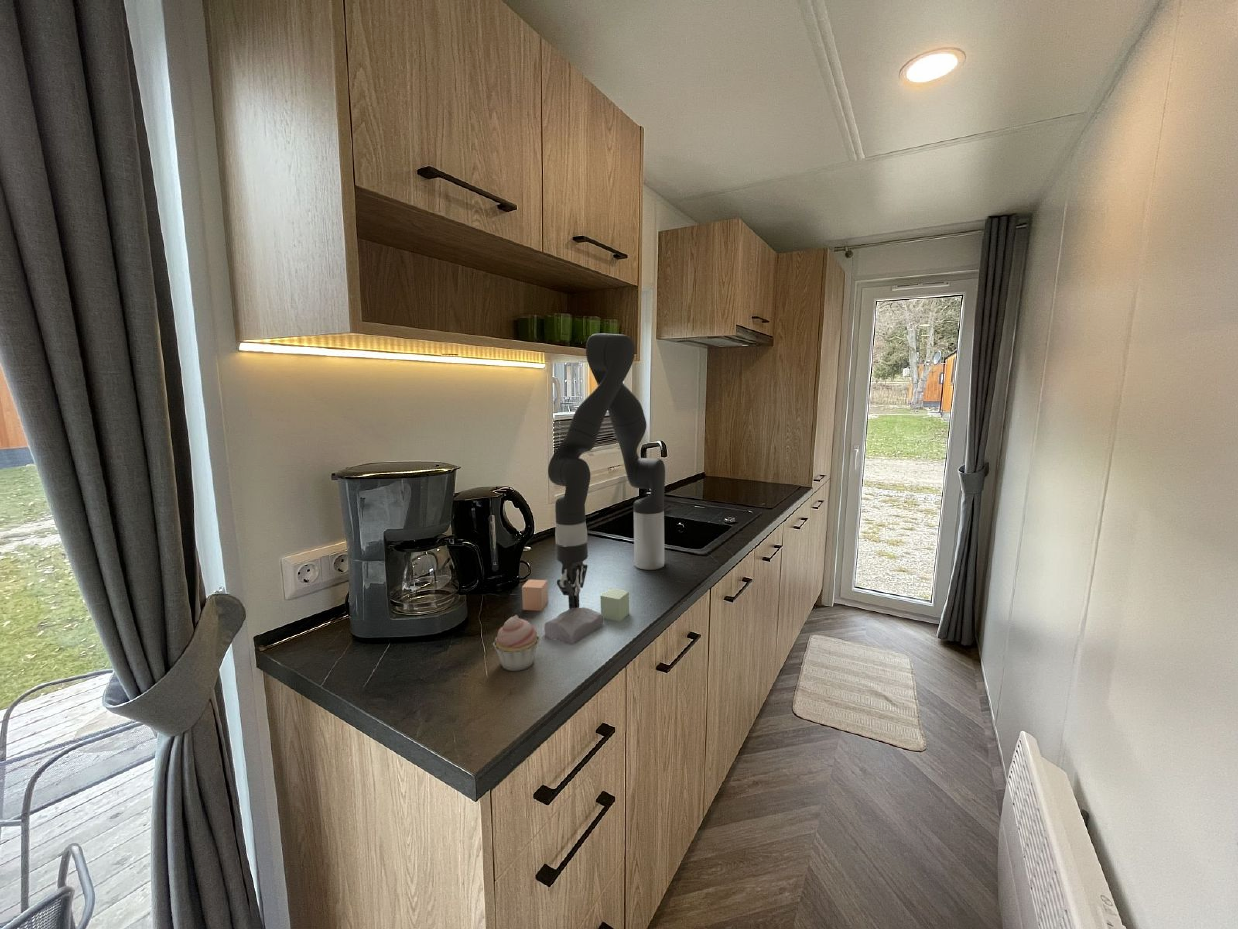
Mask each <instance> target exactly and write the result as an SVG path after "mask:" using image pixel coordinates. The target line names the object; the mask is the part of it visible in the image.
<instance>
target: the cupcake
mask: <svg viewBox="0 0 1238 929" xmlns="http://www.w3.org/2000/svg"><path fill="white" fill-rule="evenodd" d="M541 639H542V638H541V636H539V635H538V632H537V629H536V627H534V626H533V625H532V624H531V623H530V622H529V621H527V620H526V619H522V618H519V616H518V614H515V615H514V616H510V617H509V618H508V619H507V620H506V621H505V622H504V624H503V626H501V627H500V628H499V630H498V632H497V637H495V641H494V642H493V643H492V645H493V647H494V649H495V651H496V652H497V655H498V658H499V661H500V664H501V666H502V668H503V669H505V670H506V671H510V672H511V671H512V672H518V671H523V670H527V669H528V668H530V667H531V666H532V665H533V664H534V661H535V656H536V652H537V651H536V650H537V648H538V645H539V644H540V640H541Z"/></svg>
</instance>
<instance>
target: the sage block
mask: <svg viewBox="0 0 1238 929" xmlns="http://www.w3.org/2000/svg"><path fill="white" fill-rule="evenodd" d="M629 592H630V591H627V590H622V589H616V588H608V590H607V591H605V592H604V593H601V595H600V598H599V599H600V613H601V614H602V615H603V619H607V620H611V621H616V622H621V621H622V620H624V618H625V617H626V616H628V615H629V614H630V597H629V596H630V594H629Z"/></svg>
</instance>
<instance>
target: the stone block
mask: <svg viewBox="0 0 1238 929" xmlns="http://www.w3.org/2000/svg"><path fill="white" fill-rule="evenodd" d="M604 619H605V618H603V615H602V614H601V612H598V611H596V610H593V609H590V608H589V607H585V606H583V607H580V606H579V607H578V608H572V609H569V608H568V609H567V610H565V611H563V612H561V613H559V614H558V615H557V616H556V617H554V618H553V619H550V620H547V621H546V622H545V623H544V634H545V636H546V637H548V638H549V639H551V640H554V641H557V642H562V643H564V644H567V645H571V646H572V645H573V646H574V645H575V644H577V643H579V642H580V641H581V640H583V639H584V638H586V637H588V636H589V635H591V634H592V633H594V632H595V631H597V630H598V629H600V628H601V627H602V626H604Z"/></svg>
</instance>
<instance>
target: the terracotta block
mask: <svg viewBox="0 0 1238 929" xmlns="http://www.w3.org/2000/svg"><path fill="white" fill-rule="evenodd" d="M548 586H549V583H548V580H547V579H528V580H527V581H526V582H525V583H524V584H523V585H522V587H521V594H522V596H521V597H522V610H523V611H538V612H540V611H541V612H543V610H544V609H545V608H546V607H547V605H548V604H549V587H548Z"/></svg>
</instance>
